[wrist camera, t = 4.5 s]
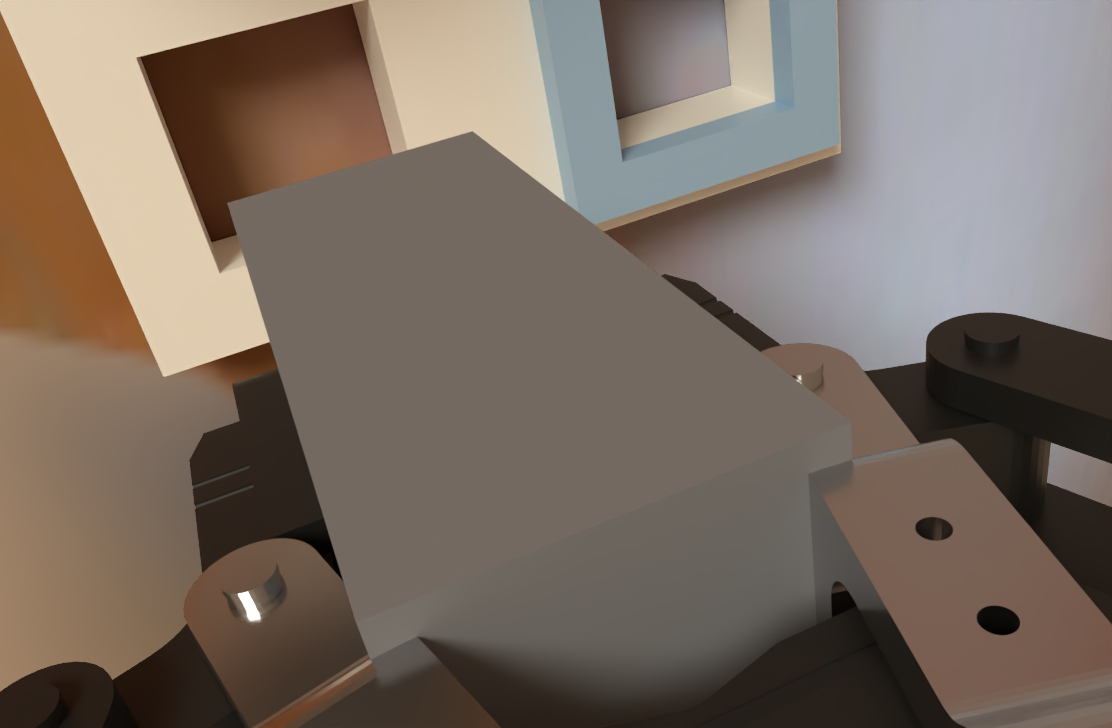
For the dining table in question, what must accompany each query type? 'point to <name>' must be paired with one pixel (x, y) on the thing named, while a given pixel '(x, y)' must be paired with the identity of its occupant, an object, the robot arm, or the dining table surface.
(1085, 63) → the dining table surface
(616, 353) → the plug
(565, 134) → the socket block
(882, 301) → the dining table surface
